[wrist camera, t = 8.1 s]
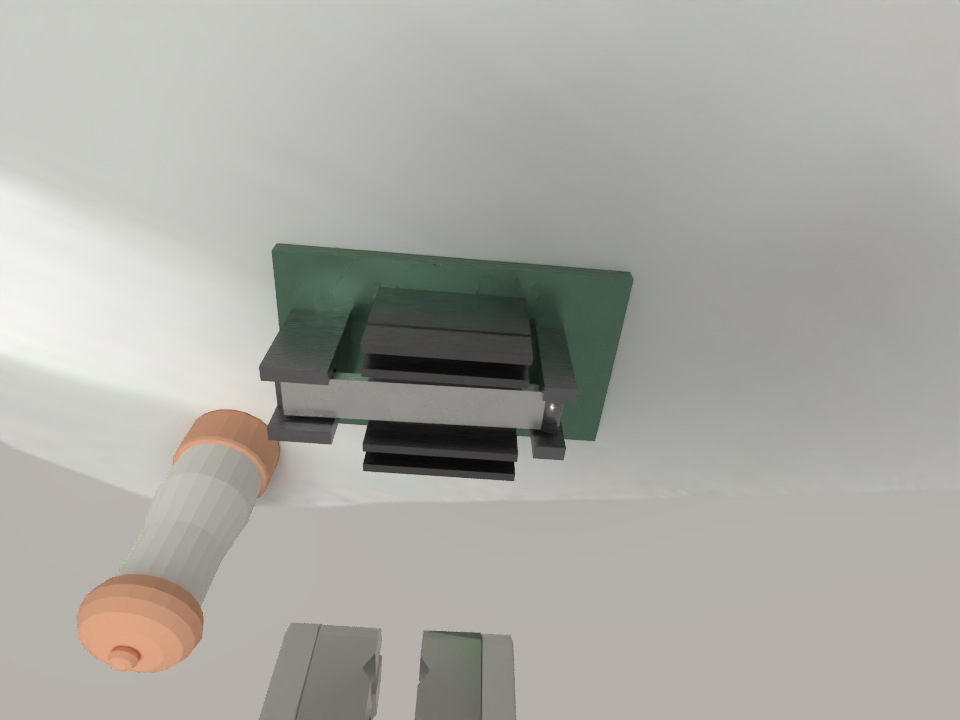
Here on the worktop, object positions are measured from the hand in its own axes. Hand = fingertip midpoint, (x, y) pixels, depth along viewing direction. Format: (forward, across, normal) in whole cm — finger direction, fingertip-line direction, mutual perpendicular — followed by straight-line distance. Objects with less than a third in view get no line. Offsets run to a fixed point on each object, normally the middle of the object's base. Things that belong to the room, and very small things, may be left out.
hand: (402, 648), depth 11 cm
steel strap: (+26, +1, +14) cm, 30 cm away
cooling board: (+33, 0, +14) cm, 36 cm away
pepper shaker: (+33, +17, +25) cm, 45 cm away
